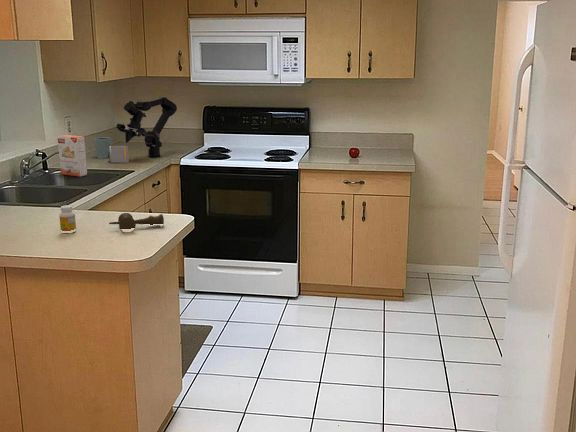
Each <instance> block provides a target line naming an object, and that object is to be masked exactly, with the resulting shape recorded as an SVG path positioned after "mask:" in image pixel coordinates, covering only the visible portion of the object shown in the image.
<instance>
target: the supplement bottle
mask: <svg viewBox="0 0 576 432" xmlns="http://www.w3.org/2000/svg"><path fill="white" fill-rule="evenodd" d="M60 211H61V212H59V214H58V215H59V227H60V231H61V230H62V231H71V230H74V229H76V230H77V223H76V213H75V212H74V211H73V206H72V205H69V204H68V205H67V204H65V205H61V206H60Z"/></svg>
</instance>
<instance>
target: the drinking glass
mask: <svg viewBox="0 0 576 432" xmlns="http://www.w3.org/2000/svg"><path fill="white" fill-rule="evenodd" d="M93 141H94V146H95V153H96V158H97V159H103V160H104V159H109V158H108V152H109V150H110V146H112V138H111V137H108V136H107V137H95V138H93Z"/></svg>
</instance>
